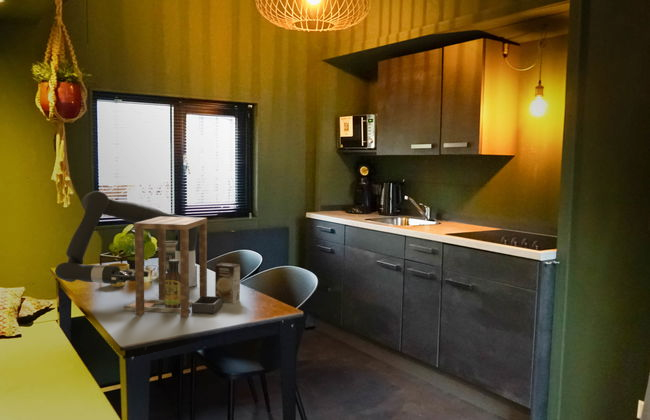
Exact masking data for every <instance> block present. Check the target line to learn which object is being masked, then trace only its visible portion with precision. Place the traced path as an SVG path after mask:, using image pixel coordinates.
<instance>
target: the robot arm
mask: <svg viewBox="0 0 650 420" xmlns="http://www.w3.org/2000/svg"><path fill="white" fill-rule="evenodd" d="M81 205H82V207H83V209H84V210H85V212H84V215H83V218H82V219H81V222H80V223H79V225H78V227H77V229H76V230H75V232H74V234H73V235H72V237H71V239H70V242H69V244H68V247H67V248H66V252H65V254H66V256H67V258H68V260H67V262H66V261H65V262H62V263H59V264H57V266H56V267H55V270H54V274H55V276H56V277H57V278H58V279H60V280H63V281H65V282H68V283H73V282H75V281H81V282H84V283H96V284H107V285H110V284H116V283H117V282H130V281H131V282H135V268H129V269H126V270H122V271H121V270H120V268H119V267H118V266H114V265H108V264H84V257H85V255H86V252H87V249H88V247H89V245H90V242H91V239H92V237H93V234H94V232H95V230H96V227H97V225H98V223H99V222H100V220H101V218H102V216H103V215H104V216H110V217H114V218H117V219H120V220H123V221H125V222H130V223H132V224H134V223H137V222H141V221H145V220H149V219H153V218H156V217H160V216H161V217H187V216H185V215H177V214H171V213H168V212H164V211H162V210H160V209H158V208H155V207H153V206H150V205H146V204H142V203H139V202H138V203H137V202H131V201H125V200H124V201H123V200H122V201H121V200H116V199H112V198H110V197H108V195H107V194H106V193H105V192H104V191H100V190H94V191H91V192H88V193H87V194H85V195H84V196H83V197H82V200H81ZM167 230H168V231H169V232H172V233H175V234H177V235H178V236H177V241H178V243H177V244H176V245H175V259H177V260H179V264H178V272H179V274H180V230H170V229H166V231H167ZM197 242H198V226H196V227H193V228H190V229H189V288H191V287H194V286H197V285H198V266H197V265H196V245H197ZM147 277H149V272H148V271H147V270H146V271H145V270H144V278H147Z"/></svg>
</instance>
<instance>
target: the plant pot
mask: <svg viewBox="0 0 650 420" xmlns="http://www.w3.org/2000/svg"><path fill="white" fill-rule="evenodd" d="M107 265H114V266H118V267H119V268H120V270H121V271H122V270H126V269H130V264H129V263H126V262H125V263H124V262H115V263H108V264H107ZM126 282H127V281H126ZM126 282H117V283H116V284H109V285H110V287H113V288H115V287H117V288H119V287H124V286H125V285H126Z"/></svg>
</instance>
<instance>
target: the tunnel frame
mask: <svg viewBox="0 0 650 420" xmlns="http://www.w3.org/2000/svg"><path fill="white" fill-rule="evenodd" d="M133 224H134V225H133V227H134V228H133V229H134V269H135V281H134V282H135V302H136V306H129V305H124V306H123V310H124V311H135V316H143V315H145V312H157V313H158V312H159V313H177V314H178V313H180V318H186V319H188V317H190V314H191V308H190V306H191V307H192V303H193V302H194V301H195V300H194V301H193V300H190V292H189V291H190V287H189V229H190V228H193V227H196V226H197V227H198V229H199V234H198V235H199V237H198V239H199V240H198V241H199V246H198V247H199V248H198V249H199V263H198V264H199V298H200V297H201V296H208V272H207V271H208V262H207V261H208V259H207V258H208V255H207V254H208V252H207V251H208V239H207V238H208V232H207V231H208V226H207V225H208V217H191V216H190V217H189V216H186V217H161V216H160V217H156V218H153V219H149V220H145V221H141V222H137V223H133ZM145 229H147V230H157V250H158V251H157V252H158V261H157V262H158V267H157V268H158V269H157V270H158V299H151V298H150V299H149V298H148V299H147V298H145V277H144V271H145V259H144V258H145V257H144V256H145V253H144V249H145V248H144V247H145V246H144V230H145ZM167 229H170V230H180V282H181V303H180V308H165V306H164V307H161V306H159V307H157V306H151V307H144V302H146V303H156V304H155V305H165V281H166V273H167V272H166V241H167V240H166V239H167V238H166V237H167V232H166V231H167ZM170 230H169V231H170Z"/></svg>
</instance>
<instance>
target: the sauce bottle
mask: <svg viewBox="0 0 650 420" xmlns="http://www.w3.org/2000/svg"><path fill="white" fill-rule="evenodd" d="M178 264H179V260H177V259H171V260H169V272H168V274H167V275H166V281H165V304H164V308H181V305H180V303H181V282H180V274H179V272H178Z"/></svg>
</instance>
